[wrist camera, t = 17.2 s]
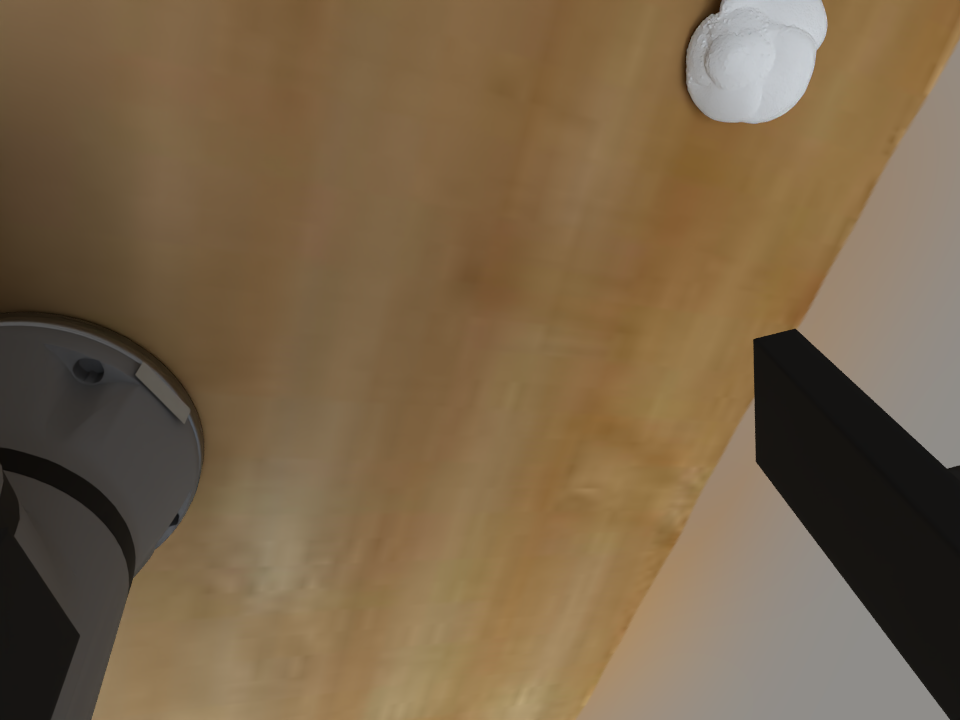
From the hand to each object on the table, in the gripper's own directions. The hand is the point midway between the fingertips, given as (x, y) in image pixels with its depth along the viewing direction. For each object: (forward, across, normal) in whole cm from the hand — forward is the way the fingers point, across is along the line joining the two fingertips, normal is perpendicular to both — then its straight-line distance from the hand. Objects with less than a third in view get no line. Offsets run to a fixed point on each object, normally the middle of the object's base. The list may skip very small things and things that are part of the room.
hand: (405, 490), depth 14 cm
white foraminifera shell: (+27, +18, 0) cm, 32 cm away
